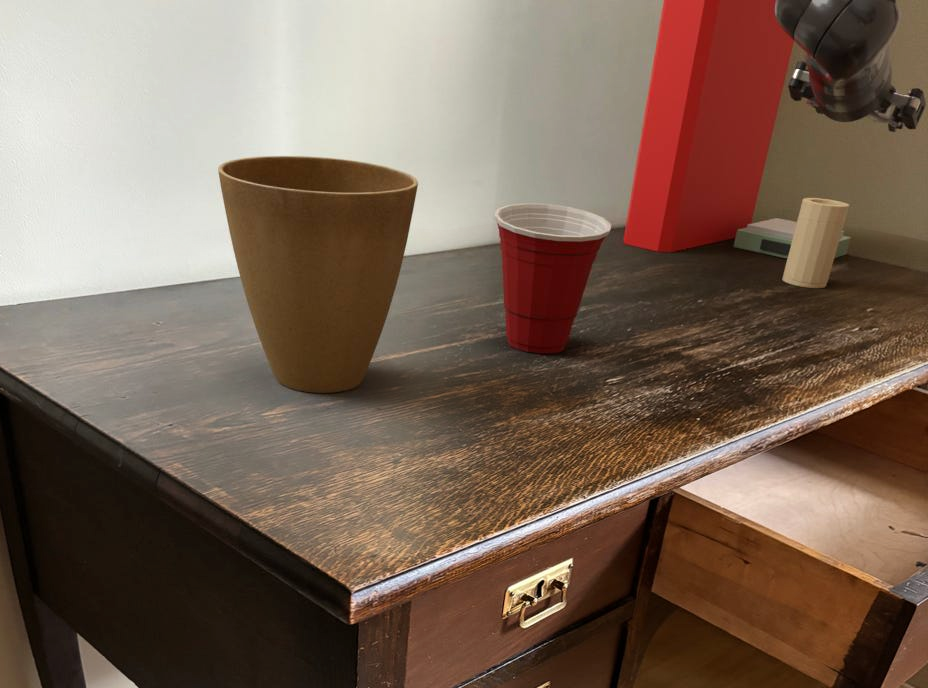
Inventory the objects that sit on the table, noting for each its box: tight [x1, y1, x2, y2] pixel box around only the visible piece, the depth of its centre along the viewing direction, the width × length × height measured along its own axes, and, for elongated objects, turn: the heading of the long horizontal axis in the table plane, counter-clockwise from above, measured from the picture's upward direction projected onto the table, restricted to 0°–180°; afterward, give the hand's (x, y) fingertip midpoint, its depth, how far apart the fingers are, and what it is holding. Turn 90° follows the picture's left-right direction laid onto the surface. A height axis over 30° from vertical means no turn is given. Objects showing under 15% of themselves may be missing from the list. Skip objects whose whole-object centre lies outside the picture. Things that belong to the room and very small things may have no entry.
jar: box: [781, 197, 850, 289], centre depth 126 cm, size 6×6×10 cm
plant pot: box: [217, 155, 419, 394], centre depth 77 cm, size 15×15×16 cm
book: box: [622, 0, 795, 253], centre depth 140 cm, size 27×8×32 cm, turn 140°
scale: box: [732, 217, 852, 260], centre depth 146 cm, size 13×13×3 cm
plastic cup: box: [493, 202, 612, 354], centre depth 91 cm, size 11×11×12 cm
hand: (859, 113), depth 112 cm, fingers open, 8 cm apart
